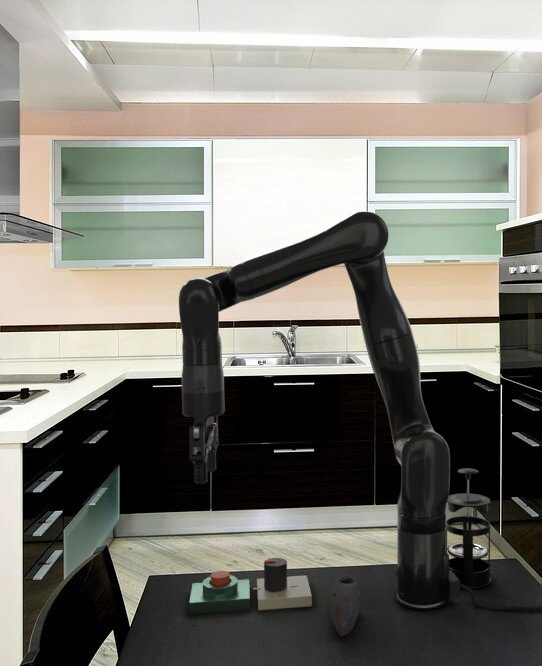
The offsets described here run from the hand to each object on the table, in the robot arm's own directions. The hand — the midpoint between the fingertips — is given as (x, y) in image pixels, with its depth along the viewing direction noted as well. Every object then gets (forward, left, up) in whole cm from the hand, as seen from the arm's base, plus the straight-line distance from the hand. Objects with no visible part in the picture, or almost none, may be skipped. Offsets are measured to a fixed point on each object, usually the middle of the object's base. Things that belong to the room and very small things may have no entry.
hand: (205, 477), depth 123 cm
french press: (-52, -6, -26) cm, 59 cm away
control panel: (-14, -4, -25) cm, 29 cm away
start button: (-2, -5, -22) cm, 22 cm away
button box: (-2, -4, -25) cm, 26 cm away
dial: (-13, -4, -23) cm, 27 cm away
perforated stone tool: (-24, +9, -26) cm, 36 cm away
